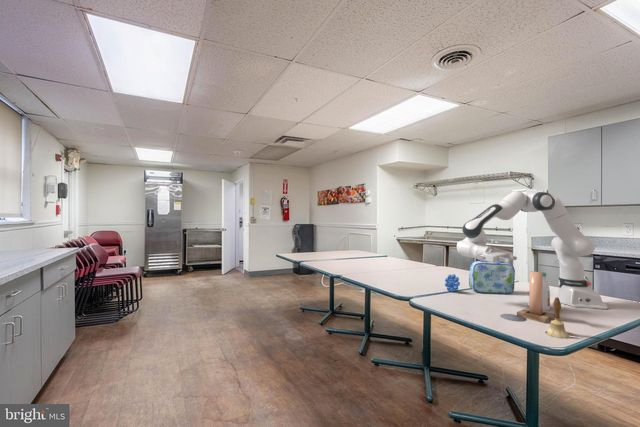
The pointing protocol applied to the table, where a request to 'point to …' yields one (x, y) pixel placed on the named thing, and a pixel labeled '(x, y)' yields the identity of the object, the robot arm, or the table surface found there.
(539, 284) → the tall peach cylinder
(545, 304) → the milk bottle
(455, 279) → the grapes
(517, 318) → the disc
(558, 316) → the hand bell
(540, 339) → the table surface
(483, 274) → the lunch box
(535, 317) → the pocket block
